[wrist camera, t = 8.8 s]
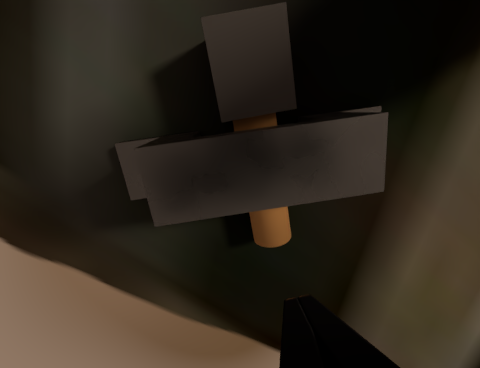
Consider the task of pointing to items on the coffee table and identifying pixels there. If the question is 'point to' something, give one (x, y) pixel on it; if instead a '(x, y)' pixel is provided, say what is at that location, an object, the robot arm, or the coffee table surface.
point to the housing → (257, 166)
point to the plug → (253, 85)
